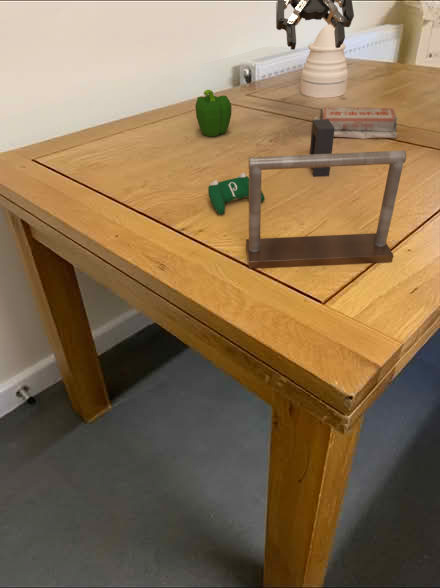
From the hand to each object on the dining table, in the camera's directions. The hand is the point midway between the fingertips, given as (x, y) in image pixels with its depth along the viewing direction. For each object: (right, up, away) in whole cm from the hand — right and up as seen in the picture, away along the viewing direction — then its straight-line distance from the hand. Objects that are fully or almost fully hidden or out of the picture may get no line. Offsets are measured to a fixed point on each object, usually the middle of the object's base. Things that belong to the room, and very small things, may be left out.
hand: (316, 46), depth 87 cm
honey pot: (+12, +11, +46) cm, 49 cm away
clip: (+1, -23, +3) cm, 23 cm away
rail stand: (-4, -41, -20) cm, 46 cm away
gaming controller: (-16, -31, -6) cm, 35 cm away
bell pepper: (-20, -9, +22) cm, 31 cm away
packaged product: (+12, -9, +20) cm, 25 cm away
